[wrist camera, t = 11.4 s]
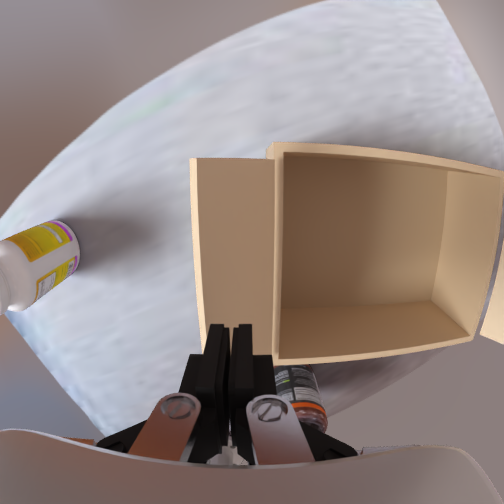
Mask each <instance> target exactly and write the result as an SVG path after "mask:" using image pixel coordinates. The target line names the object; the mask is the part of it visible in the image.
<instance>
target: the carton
mask: <svg viewBox="0 0 504 504" xmlns="http://www.w3.org/2000/svg"><path fill="white" fill-rule="evenodd" d="M266 159H275V234H274V290H273V328H272V357H273V366H274V365H300V364H317V363H330V362H342V361H352V360H361V359H370V358H378V357H386V356H393V355H400V354H406V353H412V352H418V351H424V350H429V349H434V348H440V347H445V346H449V345H454V344H458V343H463V342H467V341H472V340H473V337H474V334H475V332H476V329H477V325H478V322H479V319H480V316H481V313H482V309H483V306H484V302H485V299H486V295H487V291H488V287H489V283H490V279H491V275H492V270H493V265H494V261H495V255H496V250H497V244H498V238H499V231H500V224H501V216H502V206H503V194H504V171H500V170H496V169H492V168H488V167H484V166H479V165H475V164H470V163H466V162H461V161H456V160H451V159H446V158H440V157H434V156H429V155H422V154H416V153H409V152H402V151H395V150H387V149H378V148H369V147H359V146H348V145H334V144H318V143H296V142H273V143H272V144H271V145H270V146H269V147H268V148H267V149H266Z"/></svg>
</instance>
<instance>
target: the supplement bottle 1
mask: <svg viewBox="0 0 504 504" xmlns="http://www.w3.org/2000/svg"><path fill="white" fill-rule="evenodd" d="M79 259H80V249H79V244H78V241H77V238H76V236H75V234H74V233H73V231H72V230H71V229H70V228H69V227H68V226H67V225H66V224H64V223H62V222H60V221H56V220H52V221H48V222H45V223H42V224H40V225H37V226H35V227H32V228H30V229H27V230H25V231H22V232H20V233H18V234H15V235H13V236H11V237H8V238H6V239H4V240H2V241H0V315H2V314H3V313H5V312H6V311H7V309H8V310H11V311H17V312H19V311H23V310H25V309H27V308H28V307H30V306H31V305H32V304H33V303H35V302H36V301H37V300H38V299H40V298H41V297H42V296H43V295H45V294H46V293H47V292H49V291H50V290H51V289H53V288H54V287H55V286H57V285H58V284H59V283H61V282H62V281H63V280H65V279H66V278H67V277H69V276H70V275H71V274H72V273H73V272H74V271H75V270H76V268H77V266H78V263H79Z"/></svg>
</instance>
